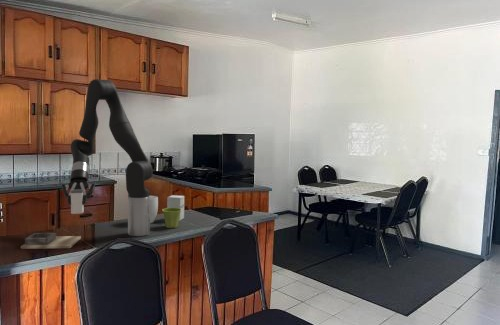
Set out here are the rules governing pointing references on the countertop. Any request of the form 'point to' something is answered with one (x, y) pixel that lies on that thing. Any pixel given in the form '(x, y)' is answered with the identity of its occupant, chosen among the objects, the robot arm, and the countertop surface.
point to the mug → (153, 207)
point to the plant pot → (171, 217)
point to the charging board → (49, 241)
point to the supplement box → (176, 204)
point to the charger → (77, 201)
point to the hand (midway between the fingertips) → (76, 204)
